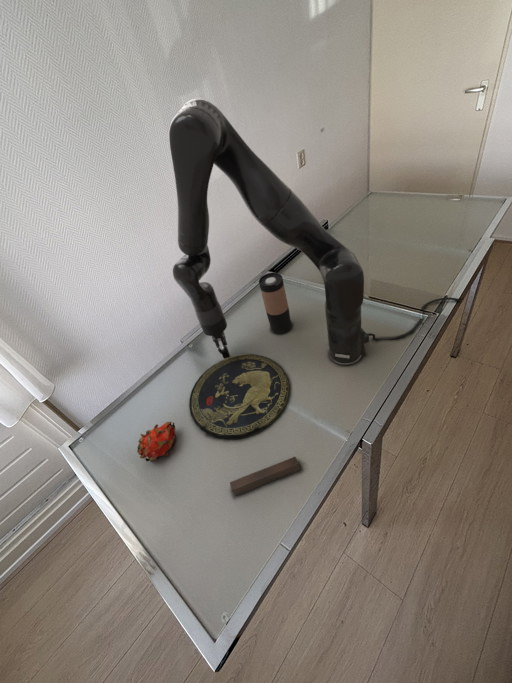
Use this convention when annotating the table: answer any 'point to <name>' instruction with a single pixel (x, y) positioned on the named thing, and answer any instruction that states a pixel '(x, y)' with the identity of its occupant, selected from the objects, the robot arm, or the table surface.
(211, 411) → the decorative plate
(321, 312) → the table surface
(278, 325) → the travel mug
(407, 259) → the table surface
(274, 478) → the rail
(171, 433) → the dragon fruit
